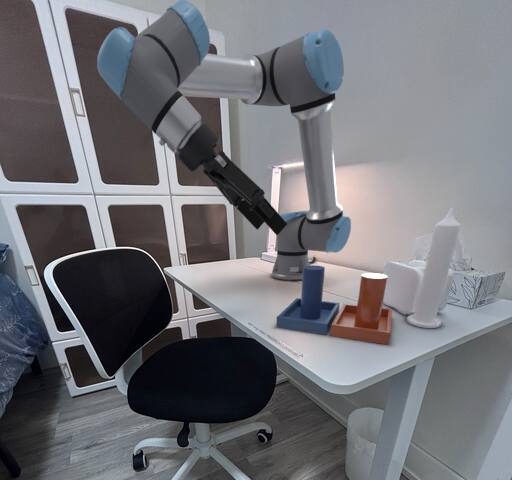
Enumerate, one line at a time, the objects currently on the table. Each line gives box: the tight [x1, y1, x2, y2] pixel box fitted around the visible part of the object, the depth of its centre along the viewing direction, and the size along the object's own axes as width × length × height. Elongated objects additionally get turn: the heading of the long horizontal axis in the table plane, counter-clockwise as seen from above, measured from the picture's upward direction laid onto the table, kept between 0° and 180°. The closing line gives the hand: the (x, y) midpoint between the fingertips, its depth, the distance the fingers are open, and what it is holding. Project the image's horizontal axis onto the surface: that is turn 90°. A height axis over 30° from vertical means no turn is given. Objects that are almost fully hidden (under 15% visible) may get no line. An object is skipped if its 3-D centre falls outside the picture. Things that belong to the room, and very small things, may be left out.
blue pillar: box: [300, 264, 326, 320], centre depth 70 cm, size 5×5×12 cm
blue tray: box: [276, 297, 340, 336], centre depth 71 cm, size 16×12×3 cm
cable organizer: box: [382, 259, 455, 316], centre depth 77 cm, size 15×11×12 cm
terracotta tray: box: [330, 303, 393, 346], centre depth 67 cm, size 16×12×3 cm
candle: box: [406, 206, 461, 329], centre depth 64 cm, size 7×7×25 cm
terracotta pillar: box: [354, 272, 388, 330], centre depth 62 cm, size 5×5×12 cm
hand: (270, 227), depth 61 cm, fingers open, 13 cm apart
